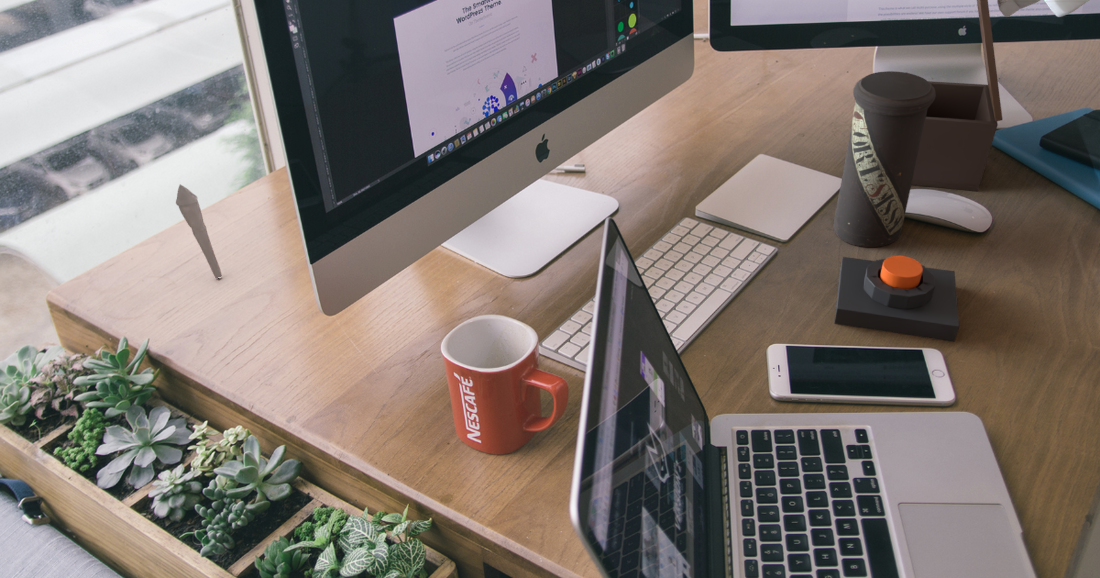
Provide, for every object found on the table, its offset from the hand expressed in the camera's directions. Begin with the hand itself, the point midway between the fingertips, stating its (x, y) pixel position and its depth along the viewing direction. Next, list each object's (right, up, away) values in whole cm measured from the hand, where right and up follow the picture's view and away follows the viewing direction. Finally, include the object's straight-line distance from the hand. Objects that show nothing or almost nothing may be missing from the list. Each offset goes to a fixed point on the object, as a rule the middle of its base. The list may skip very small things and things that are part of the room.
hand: (1000, 9), depth 96 cm
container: (-16, -27, +3) cm, 32 cm away
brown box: (-4, -17, +15) cm, 23 cm away
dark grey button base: (-17, -36, -9) cm, 41 cm away
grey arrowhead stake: (-99, -33, +5) cm, 105 cm away
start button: (-18, -34, -11) cm, 40 cm away
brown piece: (-1, -3, +3) cm, 4 cm away
